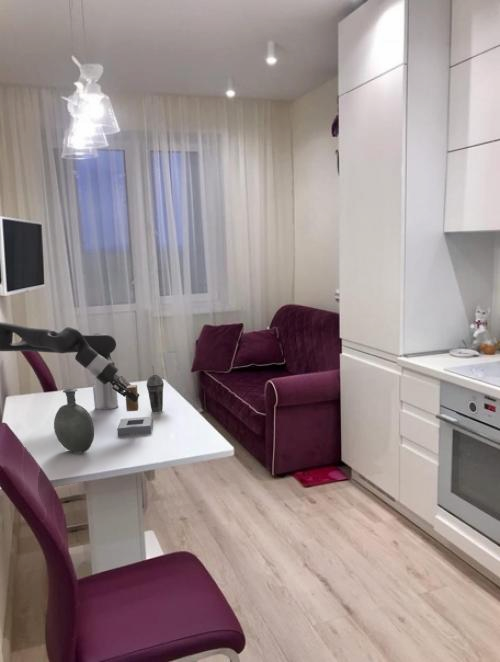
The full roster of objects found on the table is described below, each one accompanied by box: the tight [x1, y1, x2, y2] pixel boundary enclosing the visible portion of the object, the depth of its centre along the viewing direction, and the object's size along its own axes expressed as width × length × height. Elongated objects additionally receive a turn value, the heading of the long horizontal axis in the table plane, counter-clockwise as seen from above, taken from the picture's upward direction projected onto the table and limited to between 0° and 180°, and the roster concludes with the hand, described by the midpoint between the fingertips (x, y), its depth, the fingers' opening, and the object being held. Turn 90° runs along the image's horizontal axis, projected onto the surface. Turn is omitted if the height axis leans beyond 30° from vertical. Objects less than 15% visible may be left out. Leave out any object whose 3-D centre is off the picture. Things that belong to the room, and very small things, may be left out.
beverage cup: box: [146, 365, 164, 413], centre depth 222 cm, size 7×7×20 cm
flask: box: [53, 388, 95, 454], centre depth 177 cm, size 12×17×22 cm
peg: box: [125, 384, 139, 412], centre depth 197 cm, size 4×4×9 cm
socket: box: [116, 415, 154, 437], centre depth 199 cm, size 12×12×3 cm
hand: (137, 398), depth 198 cm, fingers closed on peg, 4 cm apart
